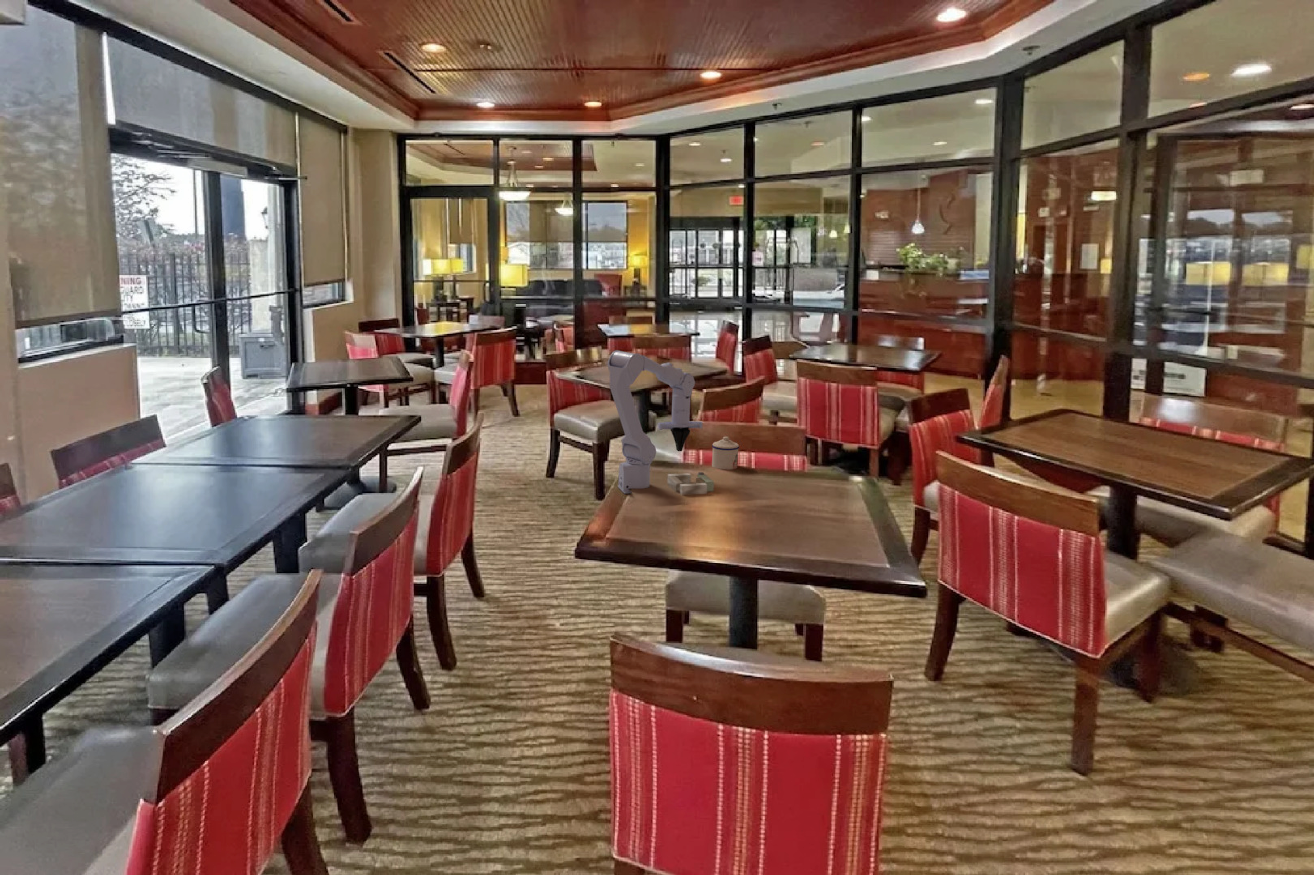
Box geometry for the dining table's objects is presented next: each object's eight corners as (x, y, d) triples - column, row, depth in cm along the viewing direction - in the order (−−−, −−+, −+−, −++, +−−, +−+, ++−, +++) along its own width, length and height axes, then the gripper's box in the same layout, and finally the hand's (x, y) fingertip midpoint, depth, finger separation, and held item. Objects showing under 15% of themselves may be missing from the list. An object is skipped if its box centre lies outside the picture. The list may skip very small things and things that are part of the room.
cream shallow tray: (678, 499, 271) (679, 486, 270) (664, 487, 284) (664, 474, 283) (722, 497, 275) (722, 483, 274) (706, 484, 288) (706, 472, 287)
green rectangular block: (706, 491, 275) (706, 480, 274) (696, 482, 284) (696, 472, 284) (713, 491, 276) (713, 480, 275) (703, 482, 285) (703, 472, 284)
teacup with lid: (738, 474, 302) (740, 440, 299) (711, 473, 302) (713, 439, 299) (736, 465, 313) (738, 432, 311) (710, 464, 313) (711, 431, 311)
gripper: (663, 412, 281) (661, 454, 284) (706, 410, 285) (704, 452, 288) (656, 408, 288) (655, 449, 291) (698, 406, 292) (697, 447, 295)
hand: (679, 450), depth 290 cm, fingers closed
